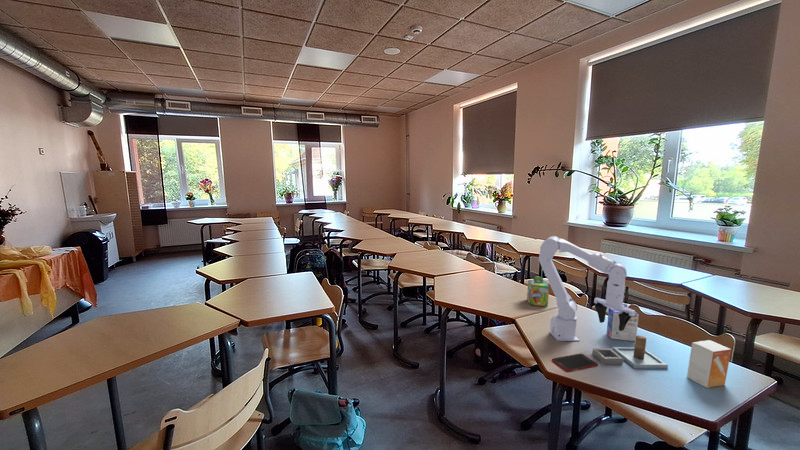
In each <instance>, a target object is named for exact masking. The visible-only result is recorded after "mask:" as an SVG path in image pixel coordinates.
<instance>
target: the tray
mask: <svg viewBox="0 0 800 450" xmlns="http://www.w3.org/2000/svg"><path fill="white" fill-rule="evenodd" d="M634 347H635V346H634ZM634 347H633V346H612V348H611V349H612V350H613V351H614V352H616V353H617V354H618V355H619V356H621V357H622V358H623V361H625V362H626V363H628V365H630V366H631V367H632V368H633V369H667V370H668V368H669V364H668V363H666V362H664V361H663V360H662V359H660V358H659V357H658V356H656V355H654V354H653V353H652V352H650V351H649V350H648V349H646V348H645V355H644V359H643V360H641V359H637V358H635V357H634Z"/></svg>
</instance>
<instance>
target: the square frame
mask: <svg viewBox="0 0 800 450" xmlns="http://www.w3.org/2000/svg"><path fill="white" fill-rule="evenodd" d="M612 349H613V348H599V347H598V348H597V347H595V348H592V355H593V356H594V357H595V358H596V359H598V361H600V363H602V364H604V365H623V364H624V359H623V358H622V357H621V356H619V355H618V354H617V353H616V352H614V351H613V350H612Z"/></svg>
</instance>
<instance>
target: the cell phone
mask: <svg viewBox="0 0 800 450" xmlns="http://www.w3.org/2000/svg"><path fill="white" fill-rule="evenodd" d="M551 362H552V363H554V364H555V365H556V366H558V367H559V368H560V369H562V371H564V372H567V373H568V372H574V371H579V370H584V369H589V368H594V367H598V366H599V363H598V362H596V361H594V360H593V359H592V358H590V357H588V356H586V355H585V354H583V353H575V354H569V355H565V356H559V357H554V358H552V359H551Z"/></svg>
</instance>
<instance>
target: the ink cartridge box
mask: <svg viewBox="0 0 800 450" xmlns="http://www.w3.org/2000/svg"><path fill="white" fill-rule="evenodd" d="M623 305H624V306H626V307H628V304H627V303H626V304H625V303H623ZM607 310H608V311H607V322H606V323H607V325H606V335H607V336H608V338H610V340H611V339H612V340H613V339H614V340H623V341H632V342H635V339H636V336H637V335H638V325H639V316H640V313H638V312H637V311H635V315H634V316H632V317H631V318H630V320H629V321H628V322H627V324H626V326H625V328H624V330H622V331H620V330H619V323H620V322H619V314H620V313H622V312H620V311H617V310H615V309H612V308H608V309H607Z"/></svg>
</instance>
